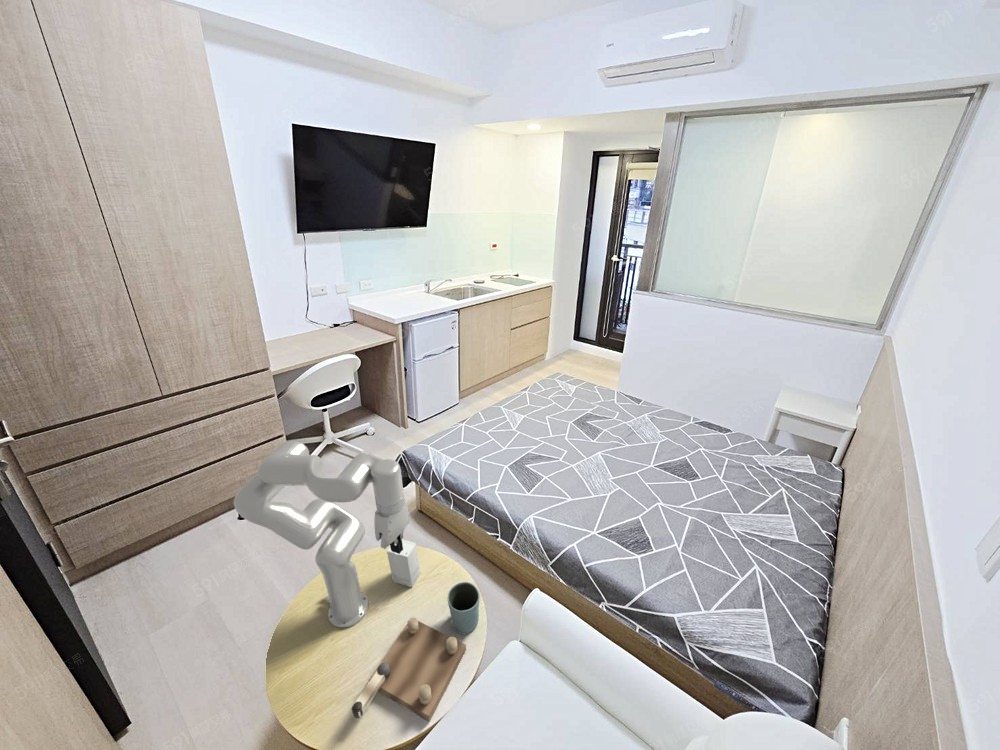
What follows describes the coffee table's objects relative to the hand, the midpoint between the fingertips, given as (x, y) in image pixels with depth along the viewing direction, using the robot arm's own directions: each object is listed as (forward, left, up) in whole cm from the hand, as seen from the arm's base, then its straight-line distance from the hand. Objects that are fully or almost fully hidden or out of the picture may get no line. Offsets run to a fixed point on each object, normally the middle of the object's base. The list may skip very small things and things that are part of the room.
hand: (397, 550), depth 118 cm
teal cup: (+17, +8, -32) cm, 37 cm away
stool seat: (+12, -10, -32) cm, 36 cm away
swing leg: (+5, -22, -29) cm, 37 cm away
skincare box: (-10, +13, -32) cm, 36 cm away
